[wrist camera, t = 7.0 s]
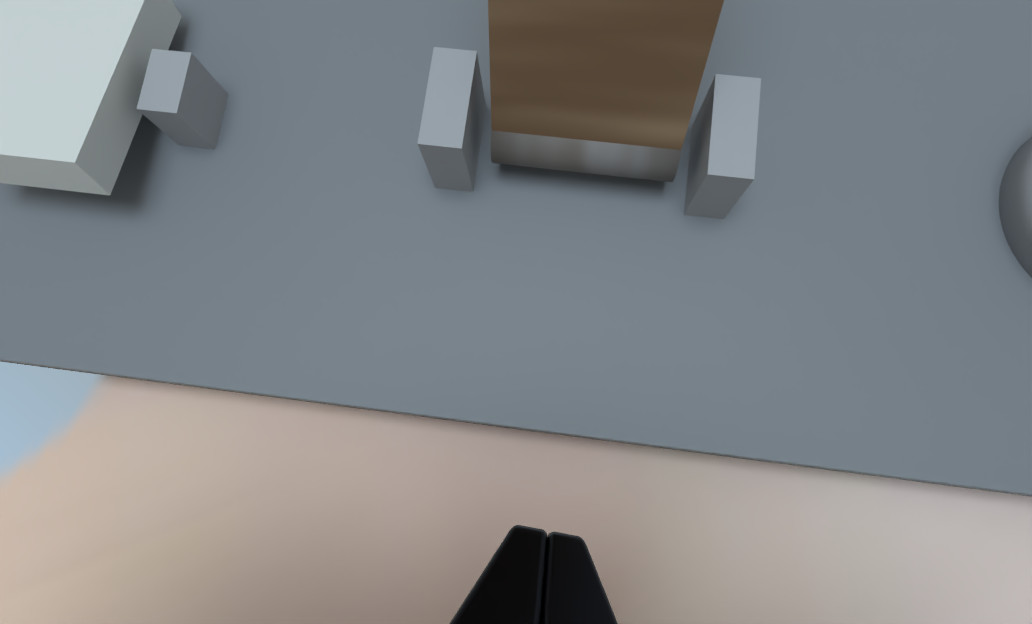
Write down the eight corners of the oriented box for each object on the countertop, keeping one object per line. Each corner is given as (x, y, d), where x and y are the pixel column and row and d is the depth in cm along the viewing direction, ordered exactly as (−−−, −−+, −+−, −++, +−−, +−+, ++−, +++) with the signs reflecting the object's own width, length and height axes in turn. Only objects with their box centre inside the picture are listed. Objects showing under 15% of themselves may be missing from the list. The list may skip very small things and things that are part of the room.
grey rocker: (110, 195, 17) (74, 162, 15) (-31, 179, 17) (-78, 145, 16) (181, 16, 19) (155, -27, 17) (54, 4, 19) (20, -39, 18)
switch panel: (1326, 535, 17) (1570, 560, 13) (-129, 344, 19) (-306, 316, 15) (1279, 21, 20) (1467, -90, 16) (7, -90, 22) (-112, -210, 18)
